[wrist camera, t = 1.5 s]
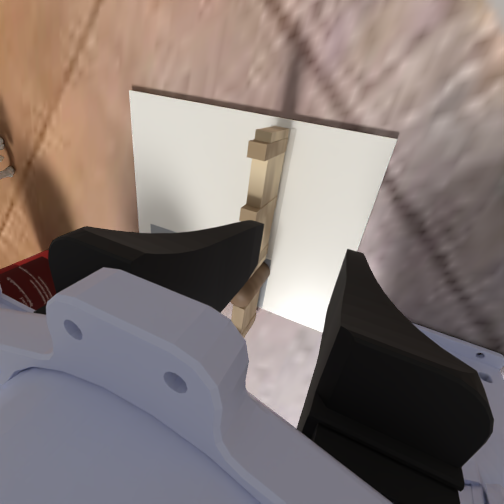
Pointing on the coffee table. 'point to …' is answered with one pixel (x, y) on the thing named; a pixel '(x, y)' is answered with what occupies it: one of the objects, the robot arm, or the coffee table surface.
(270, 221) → the fence panel
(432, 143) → the coffee table surface
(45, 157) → the coffee table surface
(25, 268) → the canned food
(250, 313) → the wooden pieces
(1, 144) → the bull figurine
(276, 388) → the coffee table surface
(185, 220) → the card
